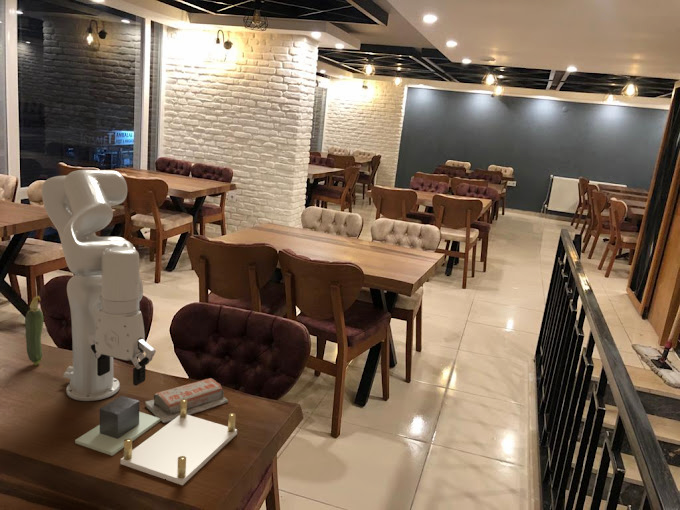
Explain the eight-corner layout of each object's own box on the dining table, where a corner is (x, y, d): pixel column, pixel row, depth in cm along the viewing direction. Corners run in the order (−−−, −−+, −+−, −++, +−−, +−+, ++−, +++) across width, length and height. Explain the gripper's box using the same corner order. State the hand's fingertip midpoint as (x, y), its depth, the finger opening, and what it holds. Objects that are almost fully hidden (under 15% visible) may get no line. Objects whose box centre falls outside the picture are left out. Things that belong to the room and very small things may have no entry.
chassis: (120, 464, 115) (120, 441, 114) (182, 417, 135) (182, 398, 133) (182, 485, 110) (183, 462, 109) (237, 434, 130) (238, 414, 129)
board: (75, 444, 121) (74, 415, 119) (126, 412, 135) (126, 385, 134) (112, 457, 118) (112, 427, 116) (160, 422, 132) (161, 395, 131)
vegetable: (23, 365, 153) (20, 296, 148) (34, 359, 157) (31, 292, 152) (37, 367, 152) (35, 298, 148) (48, 361, 156) (46, 294, 152)
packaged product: (208, 372, 150) (229, 387, 143) (208, 389, 151) (228, 404, 144) (144, 389, 137) (163, 406, 130) (144, 407, 138) (163, 425, 131)
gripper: (75, 302, 119) (77, 376, 122) (142, 316, 113) (142, 393, 117) (101, 294, 126) (102, 364, 129) (165, 307, 120) (164, 380, 124)
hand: (121, 378), depth 123 cm, fingers open, 9 cm apart
